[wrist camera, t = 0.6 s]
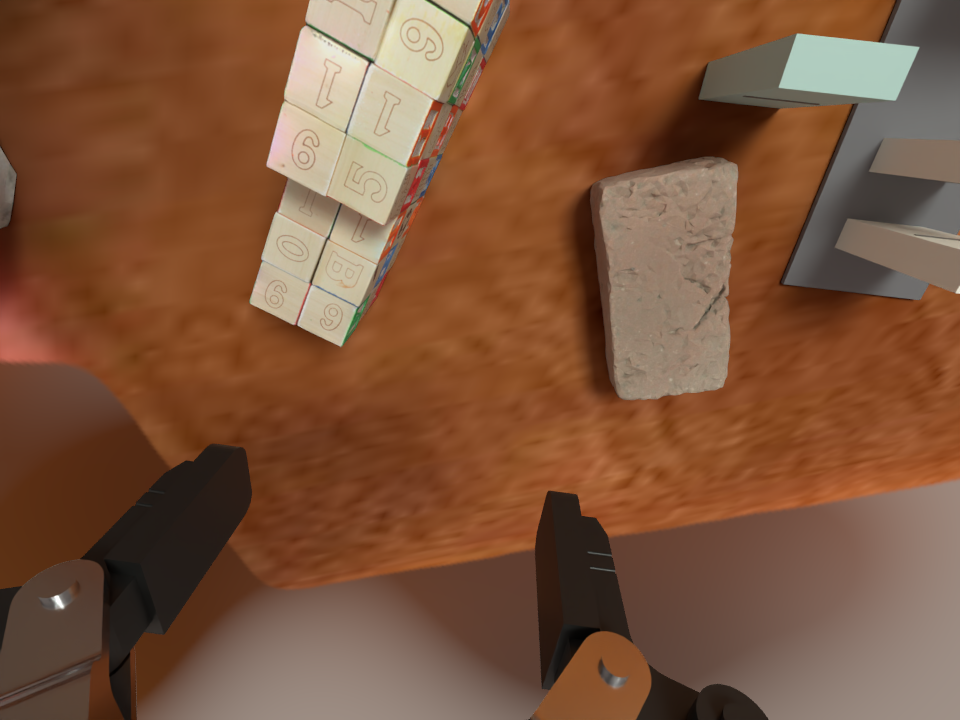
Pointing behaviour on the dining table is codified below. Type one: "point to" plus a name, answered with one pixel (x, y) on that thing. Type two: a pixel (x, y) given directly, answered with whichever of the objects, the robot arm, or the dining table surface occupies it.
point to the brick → (666, 275)
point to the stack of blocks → (363, 146)
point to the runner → (884, 197)
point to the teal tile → (809, 73)
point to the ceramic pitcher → (6, 189)
